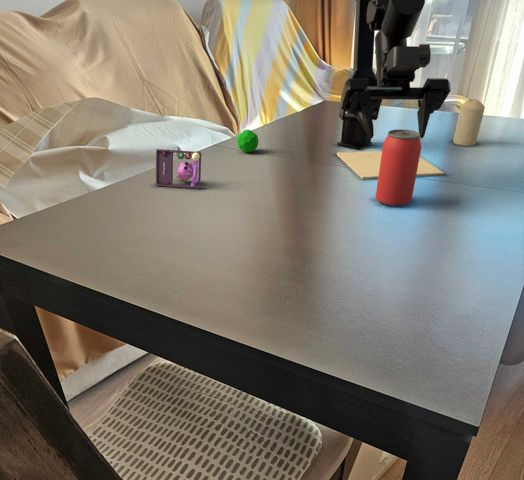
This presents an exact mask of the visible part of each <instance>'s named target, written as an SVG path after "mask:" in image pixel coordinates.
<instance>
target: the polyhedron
mask: <svg viewBox="0 0 524 480" xmlns="http://www.w3.org/2000/svg"><path fill="white" fill-rule="evenodd" d="M236 144H237V147H238V149H240V150H241V151H242V152H243V153H245V154H250V153H252V152H253V151H255V150H256V149H257V148H258V146H259V136H258V135H257V134H256V132H254V131H252V130H251V129H244V130H242V132H240V133H239V134H238V135H237V137H236Z"/></svg>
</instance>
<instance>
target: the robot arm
mask: <svg viewBox="0 0 524 480" xmlns="http://www.w3.org/2000/svg"><path fill="white" fill-rule="evenodd" d="M425 5H426V0H355V14H354V36H353V37H354V39H353V59H352V60H353V61H352V63H353V64H352V74H351V76H350V77H348V78H347V79H346V81H344V85H343V89H342V92H341V96H340V103H339V107H338V118H340V120H341V121H342V126H341V135H340V136H341V137H340V141H339V142H337V143H336V145H337V146H341V147H346V148H351V149H355V150H361V149H364V148H367V147H370V146H371V145H373V141H372V139H373V138H374V132H375V131H374V121H377V119H379V114H380V108H381V106H382V103H383V100H385V101H417V107H418V110H417V112H416V113H417V127H418V133H420V135H421V136H420V139H423V138H424V137H425V134H426V132H427V127H428V124H429V120H430V117H431V115H432V114H434V113H435V111H438V110H440V109H441V108H442V106H443V104H444V103H445V101H446V100H447V98H448V96H449V95H450V93H451V82H450V80H449V79H448V78H444V77H439V78H438V77H437V78H435V77H434V78H433V77H428V78H426V80H425V82H424V84H423V85H422V87H419V86H418V87H415V86H414V87H413V86H412V87H411V83H413V82H414V81H415V79H416V71H418V70H419V69H420V68H423V69H425V68H426V67H427V66H429V64H430V63H431V57H432V49H431V44H429V43H419V45H415V46H414V45H412V46H411V45H408V38H411V37H412V35H413V33H414V30H415V28H416V25H417V24H418V21H419V19H420V16H421V14H422V12H423V9H424V7H425ZM376 32H377V33H376ZM375 33H376V34H375ZM374 54H375V55H374ZM374 56H375V66H376V72H374Z"/></svg>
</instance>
